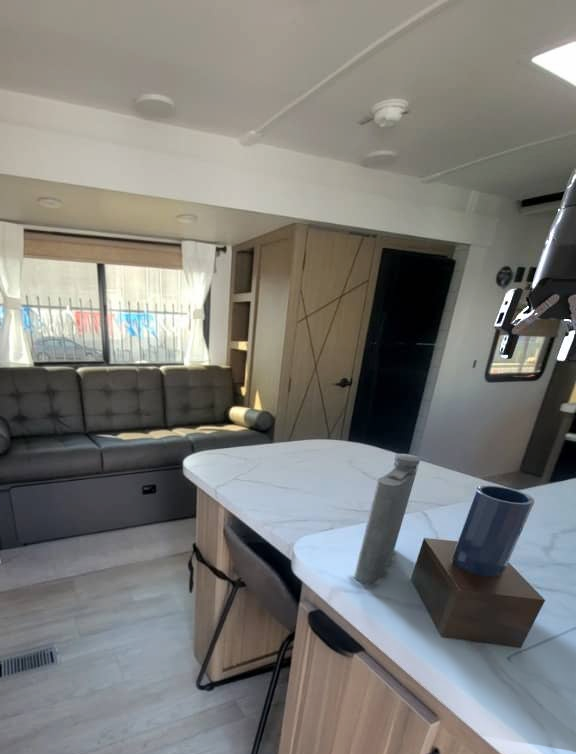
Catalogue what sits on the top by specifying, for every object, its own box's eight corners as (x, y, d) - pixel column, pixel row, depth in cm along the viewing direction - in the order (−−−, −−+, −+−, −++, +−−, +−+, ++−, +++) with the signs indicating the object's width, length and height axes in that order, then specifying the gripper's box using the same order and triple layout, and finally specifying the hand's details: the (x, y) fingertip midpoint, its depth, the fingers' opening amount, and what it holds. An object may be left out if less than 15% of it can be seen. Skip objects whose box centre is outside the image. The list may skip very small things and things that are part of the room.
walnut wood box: (475, 586, 67) (492, 544, 63) (521, 648, 54) (545, 600, 51) (410, 579, 68) (423, 537, 65) (441, 637, 56) (459, 589, 52)
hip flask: (377, 542, 79) (403, 442, 70) (399, 549, 77) (429, 447, 68) (351, 578, 68) (379, 465, 59) (376, 588, 66) (409, 472, 57)
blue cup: (490, 556, 60) (518, 487, 55) (511, 580, 55) (545, 506, 50) (445, 551, 61) (469, 483, 56) (462, 574, 56) (490, 501, 51)
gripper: (537, 240, 59) (498, 360, 66) (651, 240, 56) (598, 363, 63) (510, 249, 65) (477, 356, 72) (611, 248, 63) (567, 359, 70)
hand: (534, 359), depth 68 cm, fingers open, 8 cm apart
